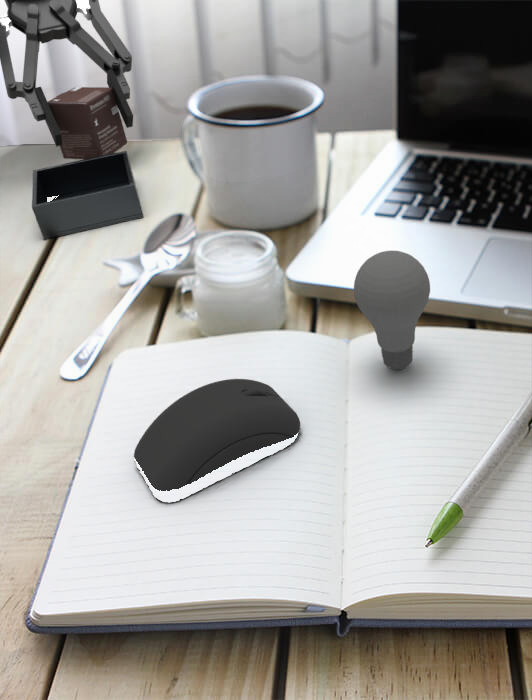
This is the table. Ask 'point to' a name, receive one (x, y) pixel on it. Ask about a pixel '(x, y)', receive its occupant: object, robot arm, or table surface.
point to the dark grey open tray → (85, 195)
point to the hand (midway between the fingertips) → (94, 130)
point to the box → (88, 122)
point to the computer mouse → (212, 431)
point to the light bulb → (393, 302)
